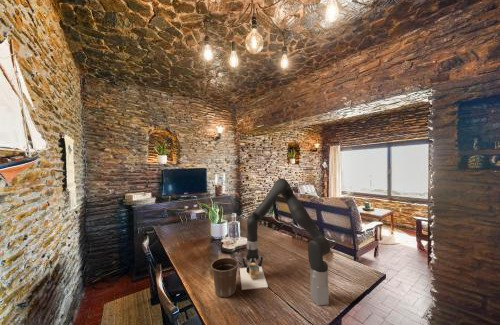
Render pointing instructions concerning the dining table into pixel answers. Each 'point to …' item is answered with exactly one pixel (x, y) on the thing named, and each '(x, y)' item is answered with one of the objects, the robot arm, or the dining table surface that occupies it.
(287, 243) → the dining table surface
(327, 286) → the robot arm
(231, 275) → the plant pot
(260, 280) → the felt mat
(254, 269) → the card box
